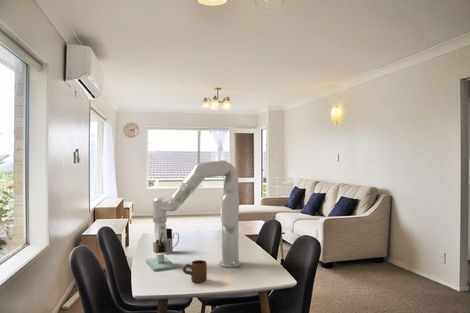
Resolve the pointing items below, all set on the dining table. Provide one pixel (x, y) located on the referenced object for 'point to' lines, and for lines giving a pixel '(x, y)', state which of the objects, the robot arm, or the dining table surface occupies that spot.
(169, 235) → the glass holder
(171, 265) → the base board
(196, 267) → the mug
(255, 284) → the dining table surface
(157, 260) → the white plaster cube
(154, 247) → the walnut collar
